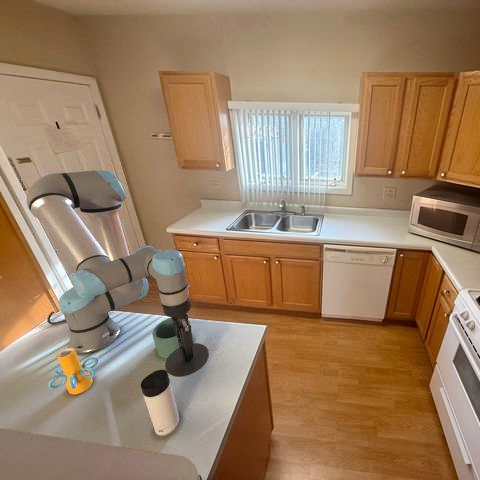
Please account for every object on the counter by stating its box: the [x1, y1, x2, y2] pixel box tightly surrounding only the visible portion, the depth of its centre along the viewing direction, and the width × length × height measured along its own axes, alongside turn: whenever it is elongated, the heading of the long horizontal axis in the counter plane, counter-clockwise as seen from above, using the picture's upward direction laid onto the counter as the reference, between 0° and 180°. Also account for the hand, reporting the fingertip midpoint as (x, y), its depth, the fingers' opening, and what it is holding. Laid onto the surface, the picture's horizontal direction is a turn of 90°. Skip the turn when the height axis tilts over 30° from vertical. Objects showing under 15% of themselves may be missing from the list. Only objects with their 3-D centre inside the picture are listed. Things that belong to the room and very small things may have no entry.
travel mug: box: [140, 369, 181, 437], centre depth 70 cm, size 6×7×20 cm
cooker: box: [151, 317, 194, 359], centre depth 99 cm, size 12×12×10 cm
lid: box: [164, 340, 210, 378], centre depth 85 cm, size 13×13×9 cm
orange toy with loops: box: [47, 347, 99, 395], centre depth 80 cm, size 12×10×15 cm
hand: (187, 355), depth 86 cm, fingers closed on lid, 3 cm apart
